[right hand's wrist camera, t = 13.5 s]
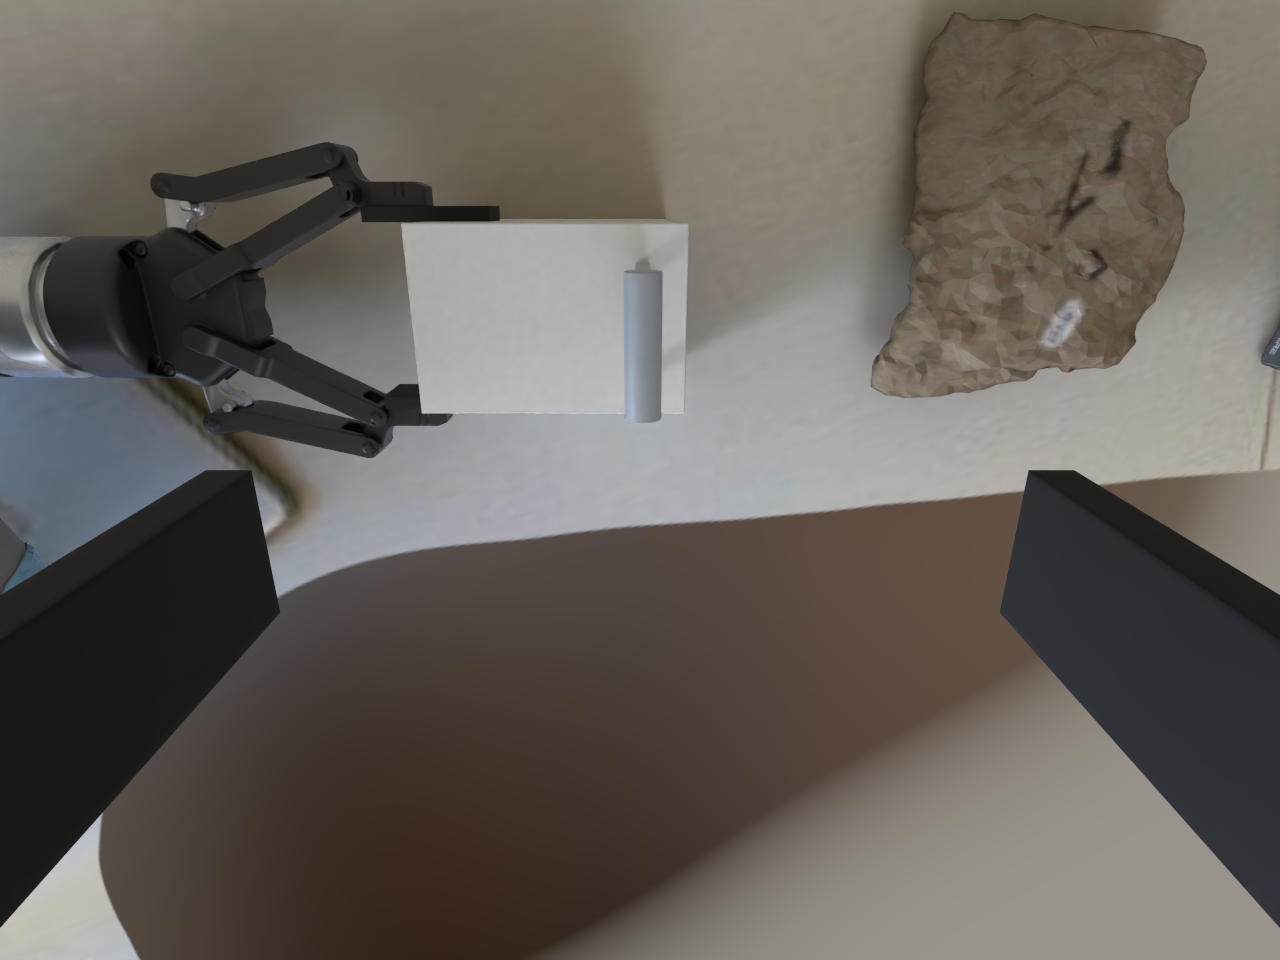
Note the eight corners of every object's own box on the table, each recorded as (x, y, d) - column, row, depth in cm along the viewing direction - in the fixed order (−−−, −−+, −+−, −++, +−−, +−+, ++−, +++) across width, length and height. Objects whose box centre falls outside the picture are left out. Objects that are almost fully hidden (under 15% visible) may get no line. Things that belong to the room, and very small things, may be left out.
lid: (687, 222, 34) (701, 227, 27) (683, 408, 37) (694, 460, 30) (406, 222, 34) (340, 227, 27) (426, 408, 37) (372, 460, 30)
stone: (1110, 416, 45) (1155, 426, 39) (865, 392, 48) (873, 398, 42) (1190, 48, 41) (1254, -2, 35) (916, 45, 44) (934, -1, 38)
